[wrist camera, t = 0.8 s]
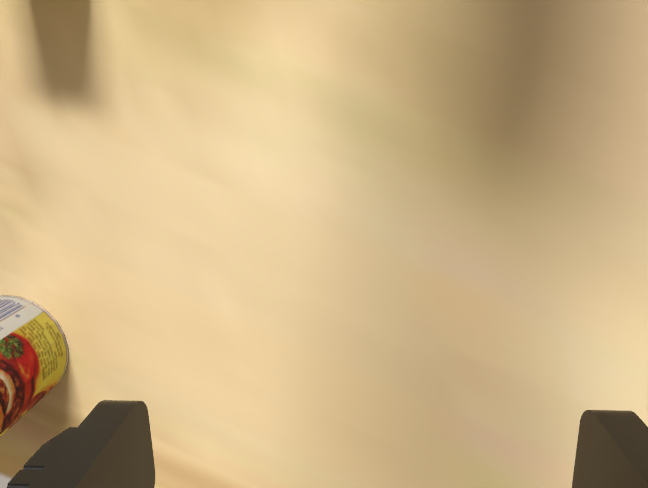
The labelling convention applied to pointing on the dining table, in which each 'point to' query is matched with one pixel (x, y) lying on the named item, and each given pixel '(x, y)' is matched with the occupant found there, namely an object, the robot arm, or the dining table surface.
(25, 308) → the canned food
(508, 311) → the dining table surface
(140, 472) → the robot arm
